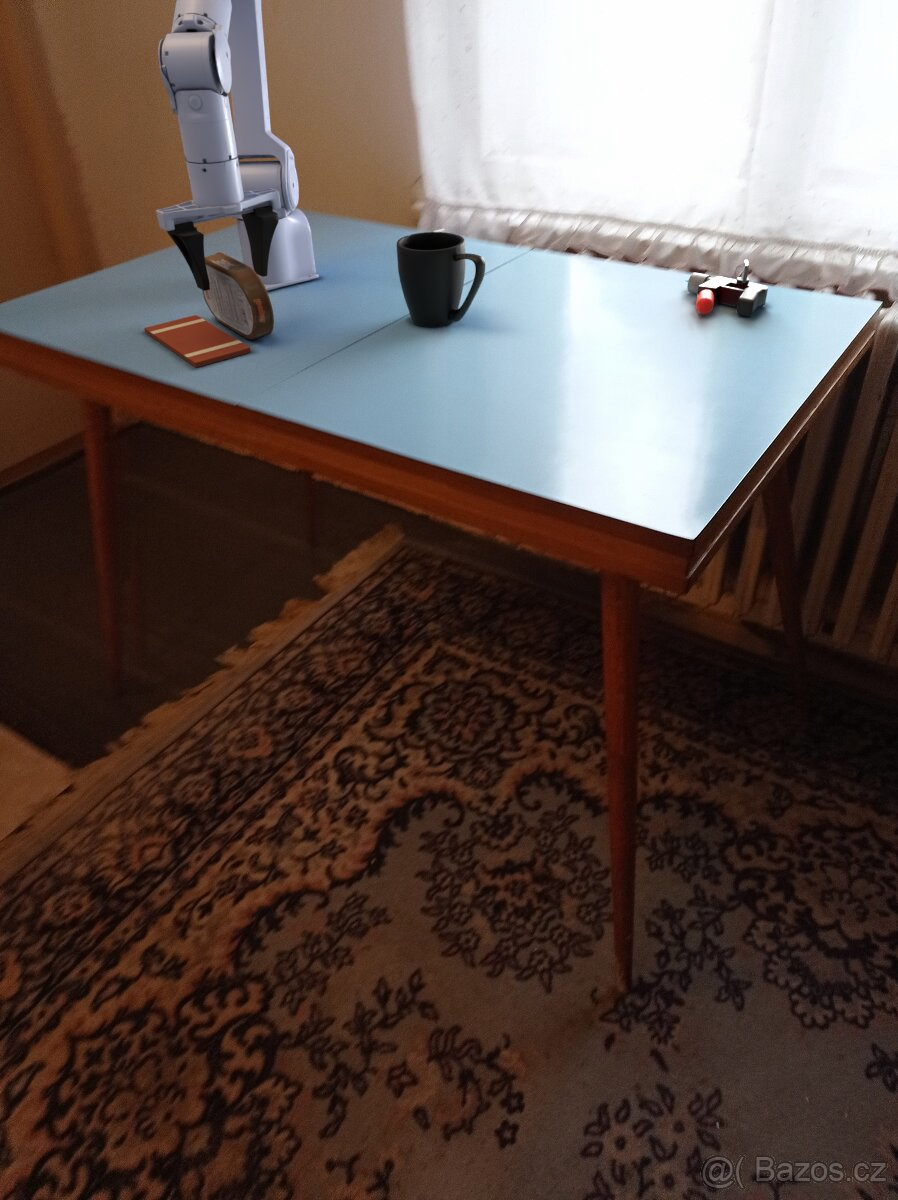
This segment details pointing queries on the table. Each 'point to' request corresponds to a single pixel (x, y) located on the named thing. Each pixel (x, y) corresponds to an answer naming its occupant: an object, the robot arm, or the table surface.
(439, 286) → the mug
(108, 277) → the table surface
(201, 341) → the towel
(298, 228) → the robot arm
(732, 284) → the red and grey device
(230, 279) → the tin
